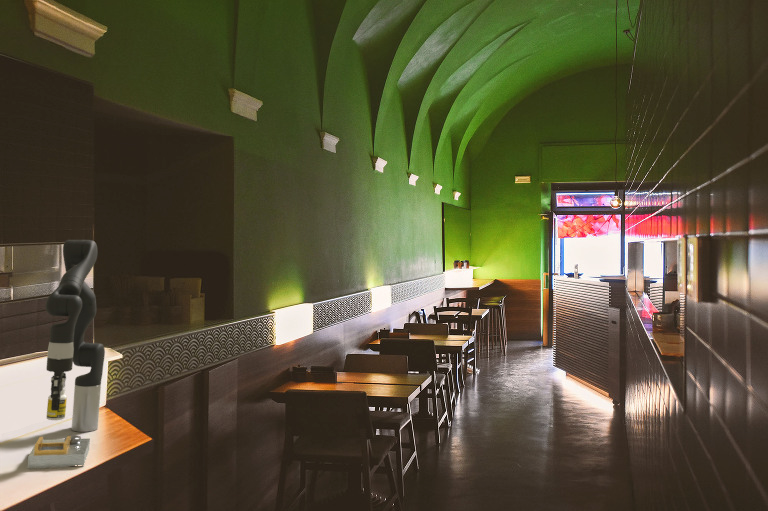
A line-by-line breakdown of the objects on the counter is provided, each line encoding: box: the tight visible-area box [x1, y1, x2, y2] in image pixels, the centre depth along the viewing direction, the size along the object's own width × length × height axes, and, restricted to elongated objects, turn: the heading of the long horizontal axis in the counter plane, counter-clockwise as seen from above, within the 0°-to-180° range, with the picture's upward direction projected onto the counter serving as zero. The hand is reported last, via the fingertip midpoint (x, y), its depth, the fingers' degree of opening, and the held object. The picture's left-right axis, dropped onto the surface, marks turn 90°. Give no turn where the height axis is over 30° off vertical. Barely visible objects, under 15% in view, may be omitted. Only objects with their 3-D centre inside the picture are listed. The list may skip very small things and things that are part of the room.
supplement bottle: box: [46, 388, 68, 421], centre depth 207 cm, size 5×5×10 cm
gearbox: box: [27, 435, 91, 470], centre depth 210 cm, size 18×16×7 cm
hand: (56, 407), depth 207 cm, fingers closed on supplement bottle, 5 cm apart
